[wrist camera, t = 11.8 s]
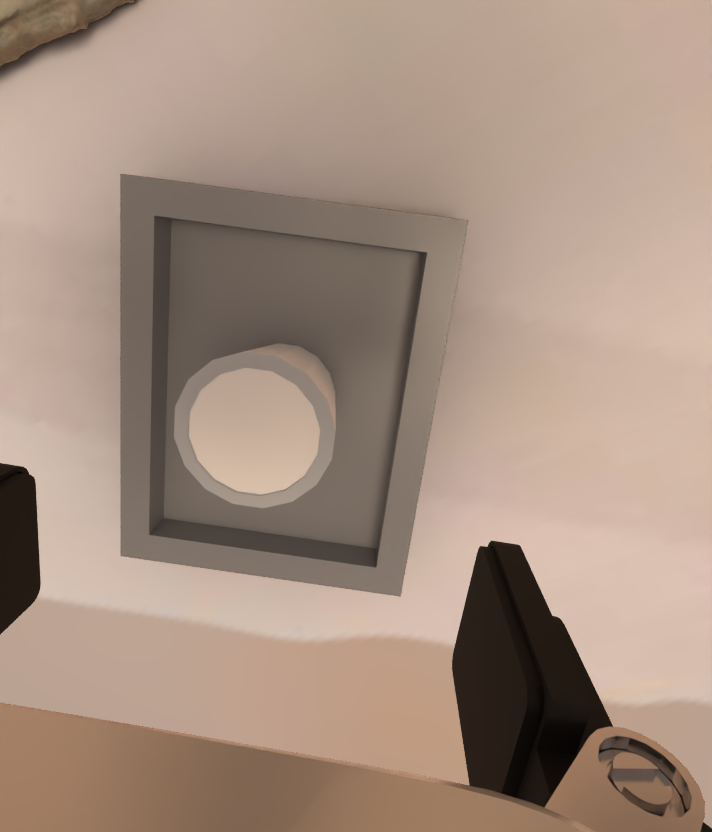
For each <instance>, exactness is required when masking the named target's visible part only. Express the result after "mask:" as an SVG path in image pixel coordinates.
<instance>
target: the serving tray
mask: <svg viewBox="0 0 712 832" xmlns="http://www.w3.org/2000/svg"><path fill="white" fill-rule="evenodd" d="M467 225H468V220H462V219H454V218H447V217H439V216H432V215H424V214H417V213H409V212H402V211H395V210H387V209H380V208H372V207H365V206H357V205H350V204H342V203H335V202H327V201H320V200H313V199H305V198H298V197H290V196H283V195H275V194H268V193H260V192H253V191H246V190H238V189H231V188H223V187H216V186H208V185H201V184H193V183H186V182H178V181H171V180H164V179H156V178H149V177H141V176H134V175H126V174H121V556H124V557H131V558H138V559H145V560H152V561H159V562H166V563H173V564H180V565H186V566H193V567H200V568H207V569H214V570H221V571H228V572H235V573H242V574H249V575H256V576H263V577H269V578H276V579H283V580H290V581H297V582H304V583H311V584H318V585H325V586H332V587H339V588H345V589H352V590H359V591H366V592H373V593H380V594H387V595H394V596H401V591H402V585H403V579H404V574H405V568H406V563H407V557H408V552H409V546H410V541H411V535H412V530H413V524H414V518H415V513H416V507H417V502H418V496H419V491H420V485H421V480H422V474H423V469H424V463H425V457H426V452H427V446H428V441H429V435H430V430H431V424H432V419H433V413H434V408H435V402H436V396H437V391H438V385H439V380H440V374H441V369H442V363H443V358H444V352H445V347H446V341H447V335H448V330H449V324H450V319H451V313H452V308H453V302H454V297H455V291H456V286H457V280H458V274H459V269H460V263H461V258H462V252H463V247H464V241H465V236H466V230H467ZM277 343H281V344H288V345H295V346H300V347H302V348H303V349H305V350H307V351H309V352H310V353H312V354H314V355H315V356H317V357H318V358H319V359H320V361H321V362H322V363H323V365H324V366H325V367H326V368H327V370H328V371H329V372H330V375H331V378H332V382H333V385H334V389H335V403H336V432H335V440H334V447H333V455H332V460H331V462H330V464H329V465H328V467H327V469H326V470H325V472H324V473H323V475H322V477H321V478H320V480H319V482H318V483H317V485H316V486H314V487H313V488H311V489H310V490H308V491H307V492H306V493H304V494H303V495H301V496H300V497H298V498H297V499H296V500H294V501H293V502H289V503H285V504H280V505H276V506H271V507H267V508H258V507H251V506H244V505H237V504H232V503H230V502H228V501H227V500H225V499H223V498H221V497H219V496H217V495H215V494H214V493H212V492H210V491H208V490H206V489H205V488H204V487H203V486H202V485H201V484H200V482H199V481H198V480H197V479H196V478H195V477H194V476H193V475H192V473H191V472H190V471H189V470H188V469H187V468H186V467H185V465H184V463H183V460H182V457H181V455H180V452H179V449H178V447H177V444H176V441H175V439H174V420H175V406H176V404H177V402H178V400H179V398H180V395H181V393H182V391H183V389H184V387H185V385H186V383H187V381H188V379H190V378H191V377H192V376H193V375H194V374H196V373H197V372H198V371H199V370H201V369H202V368H203V367H204V366H206V365H207V364H208V363H209V362H211V361H212V360H214V359H218V358H221V357H225V356H229V355H233V354H237V353H240V352H244V351H248V350H253V349H257V348H261V347H265V346H269V345H273V344H277Z"/></svg>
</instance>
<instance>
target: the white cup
mask: <svg viewBox="0 0 712 832" xmlns="http://www.w3.org/2000/svg"><path fill="white" fill-rule="evenodd" d="M335 432H336V403H335V389H334V385H333V382H332V378H331V375H330V372H329V371H328V370H327V368H326V367H325V366H324V365H323V363H322V362H321V361H320V359H319V358H318V357H317V356H315V355H314V354H312V353H310V352H309V351H307V350H305V349H303V348H302V347H300V346H295V345H288V344H281V343H277V344H273V345H269V346H265V347H261V348H257V349H253V350H248V351H244V352H240V353H237V354H233V355H229V356H225V357H221V358H218V359H214V360H212V361H211V362H209V363H208V364H207V365H206V366H204V367H203V368H202V369H201V370H199V371H198V372H197V373H196V374H194V375H193V376H192V377H191V378H190V379H188V381H187V383H186V385H185V387H184V389H183V391H182V393H181V395H180V398H179V400H178V402H177V404H176V406H175V420H174V439H175V441H176V444H177V447H178V449H179V452H180V455H181V457H182V460H183V463H184V465H185V467H186V468H187V469H188V470H189V471H190V472H191V473H192V475H193V476H194V477H195V478H196V479H197V480H198V481H199V482H200V484H201V485H202V486H203V487H204V488H205V489H206V490H208V491H210V492H212V493H214V494H215V495H217V496H219V497H221V498H223V499H225V500H227V501H228V502H230V503H232V504H237V505H244V506H251V507H258V508H267V507H271V506H276V505H280V504H285V503H289V502H293V501H294V500H296V499H297V498H298V497H300V496H301V495H303V494H304V493H306V492H307V491H308V490H310V489H311V488H313V487H314V486H316V485H317V483H318V482H319V480H320V478H321V477H322V475H323V473H324V472H325V470H326V469H327V467H328V465H329V464H330V462H331V460H332V455H333V447H334V440H335Z"/></svg>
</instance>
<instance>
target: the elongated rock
mask: <svg viewBox="0 0 712 832" xmlns="http://www.w3.org/2000/svg"><path fill="white" fill-rule="evenodd" d="M127 2H128V3H134V2H135V0H0V66H2V65H3V64H5V63H9V62H10V61H15V60H17V59H18V58H19V57H20V56H21V55H22V54H24V53H25V52H26V51H30V50H32V49H34V48H36V47H37V46H38V45H41V44H43V43H47V42H49V41H51V40H54V39H56V38H59V37H62V36H64V35H66V34H68V33H74V32H76V31H78V30H79V29H86V28H87V27H88V23H90V22H93V21H97V20H98V19H100V18H102V17H104V16H106V15H109V14H110V12H111V11H112V10H113V9H114V8H116V7H117V6H121V5H124V4H125V3H127Z"/></svg>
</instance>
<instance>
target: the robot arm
mask: <svg viewBox="0 0 712 832" xmlns="http://www.w3.org/2000/svg"><path fill="white" fill-rule="evenodd" d="M39 590H40V564H39V544H38V524H37V504H36V484H35V479H34V477H33V476H31V475H29V473H28V471H27V469H26V468H24V467H21V466H14V465H8V464H2V463H0V634H1V633H2V632H3V631H4V630H5V629H6V628H7V627H8V626H9V625H10V624H12V623H13V622H14V621H15V620H16V619H17V618H18V617H19V616H20V615H21V614H22V613H23V612H24V611H25V610H26V609H27V608H28V607H29V606H30V605H31V604H32V603H33V602H34V601H35V599H36V598H37V596H38V593H39ZM452 670H453V678H454V685H455V691H456V698H457V704H458V711H459V718H460V724H461V731H462V737H463V744H464V751H465V757H466V764H467V770H468V777H469V784H470V786H469V785H464V784H459V783H455V782H450V781H445V780H441V779H436V778H431V777H427V776H422V775H417V774H412V773H408V772H402V771H396V770H390V769H384V768H379V767H373V766H368V765H362V764H357V763H351V762H344V761H339V760H334V759H328V758H322V757H316V756H311V755H305V754H299V753H293V752H287V751H282V750H276V749H271V748H265V747H258V746H253V745H248V744H242V743H236V742H230V741H224V740H218V739H213V738H207V737H201V736H196V735H190V734H184V733H178V732H172V731H167V730H161V729H154V728H149V727H143V726H137V725H130V724H125V723H119V722H113V721H107V720H101V719H95V718H89V717H83V716H77V715H71V714H65V713H59V712H53V711H47V710H41V709H35V708H28V707H23V706H17V705H11V704H5V703H0V832H712V828H710V827H709V826H708V825H706V824H705V823H704V822H703V820H704V817H705V801H704V799H703V796H702V793H701V790H700V788H699V786H698V784H697V783H696V781H695V780H694V778H693V777H692V775H691V774H690V772H689V771H688V770H687V768H686V767H685V766H684V765H683V764H682V763H681V762H680V761H679V760H678V759H677V758H676V757H675V756H674V755H673V754H672V753H670V752H669V751H668V750H666V749H665V748H664V747H662V746H661V745H660V744H658V743H657V742H655V741H653V740H652V739H650V738H648V737H646V736H644V735H642V734H640V733H638V732H634V731H631V730H629V729H626V728H620V727H613V726H612V723H611V721H610V719H609V717H608V715H607V713H606V711H605V709H604V707H603V704H602V702H601V700H600V698H599V696H598V694H597V692H596V690H595V688H594V686H593V684H592V681H591V679H590V677H589V675H588V673H587V671H586V669H585V667H584V665H583V663H582V661H581V658H580V656H579V654H578V652H577V650H576V648H575V646H574V644H573V642H572V640H571V638H570V635H569V633H568V631H567V629H566V627H565V625H564V623H563V622H562V620H561V619H560V618H558V617H555V616H552V614H551V612H550V610H549V608H548V606H547V603H546V601H545V599H544V597H543V595H542V592H541V590H540V588H539V586H538V584H537V582H536V579H535V577H534V575H533V573H532V571H531V568H530V566H529V564H528V562H527V560H526V557H525V555H524V553H523V551H522V549H521V547H520V545H516V544H509V543H503V542H497V541H491V542H490V543H489V545H488V547H483V546H480V547H479V549H478V553H477V556H476V561H475V565H474V569H473V573H472V577H471V581H470V586H469V590H468V594H467V598H466V602H465V606H464V610H463V615H462V619H461V623H460V627H459V631H458V635H457V640H456V644H455V648H454V652H453V661H452Z"/></svg>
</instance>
